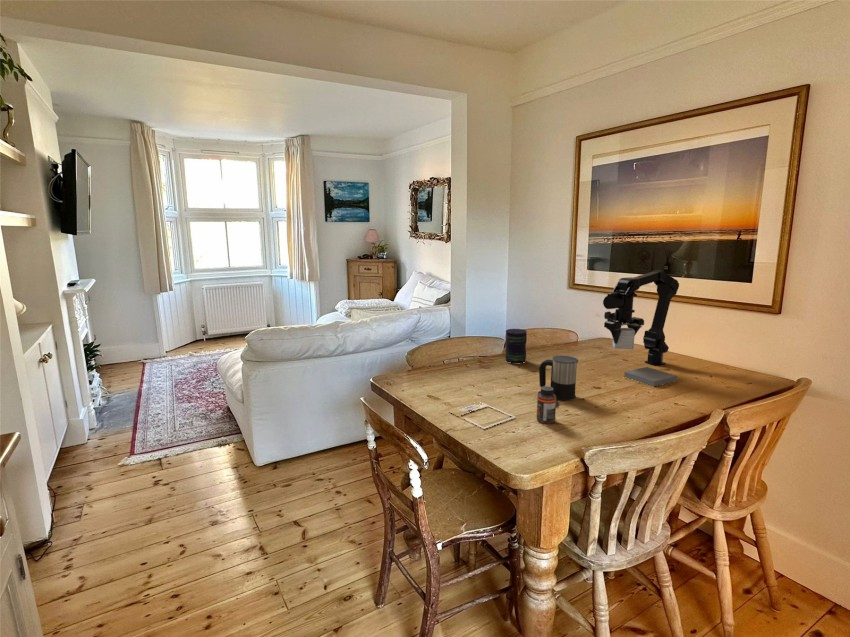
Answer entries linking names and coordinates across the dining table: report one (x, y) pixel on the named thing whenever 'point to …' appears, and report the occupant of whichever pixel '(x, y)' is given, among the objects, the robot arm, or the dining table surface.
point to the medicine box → (625, 339)
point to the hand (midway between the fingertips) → (622, 342)
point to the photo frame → (482, 407)
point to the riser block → (650, 376)
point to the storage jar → (515, 345)
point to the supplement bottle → (546, 405)
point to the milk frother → (560, 376)
